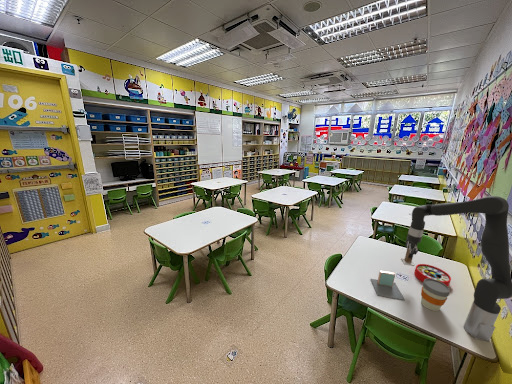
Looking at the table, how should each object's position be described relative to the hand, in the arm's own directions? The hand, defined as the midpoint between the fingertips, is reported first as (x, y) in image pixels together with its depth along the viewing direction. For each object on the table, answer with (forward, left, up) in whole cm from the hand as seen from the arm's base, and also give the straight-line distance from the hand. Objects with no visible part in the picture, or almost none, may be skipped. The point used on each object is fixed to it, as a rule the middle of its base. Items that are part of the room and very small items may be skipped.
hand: (409, 256), depth 142 cm
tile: (-7, +14, -16) cm, 22 cm away
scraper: (0, 0, -5) cm, 5 cm away
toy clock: (+10, -23, -22) cm, 33 cm away
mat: (-11, +14, -22) cm, 28 cm away
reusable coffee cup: (-19, -8, -22) cm, 30 cm away
